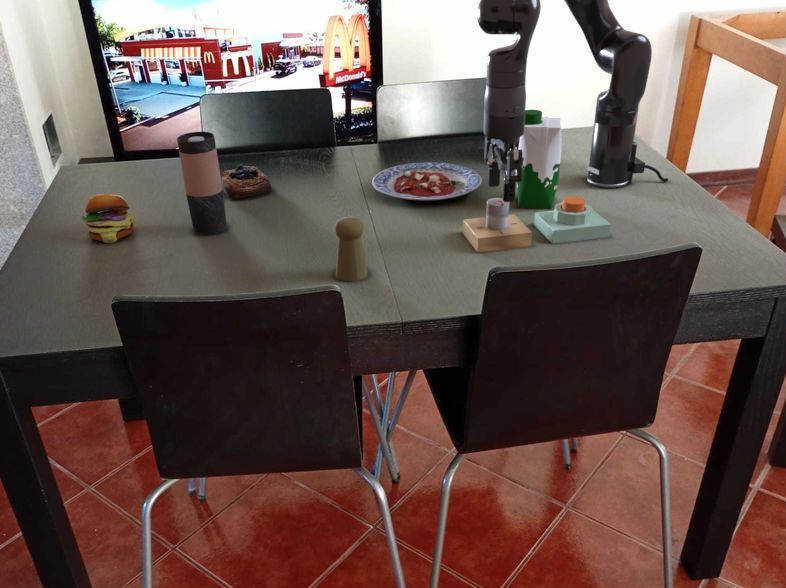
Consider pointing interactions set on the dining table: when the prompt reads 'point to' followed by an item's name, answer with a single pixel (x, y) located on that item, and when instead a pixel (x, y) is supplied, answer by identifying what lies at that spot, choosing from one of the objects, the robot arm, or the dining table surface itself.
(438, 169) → the ceramic plate
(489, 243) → the panel
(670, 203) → the dining table surface
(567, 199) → the orange button cap
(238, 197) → the pastry
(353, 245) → the wooden pawn
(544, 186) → the milk carton
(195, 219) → the travel mug
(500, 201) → the dial
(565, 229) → the button base
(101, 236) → the cheeseburger
